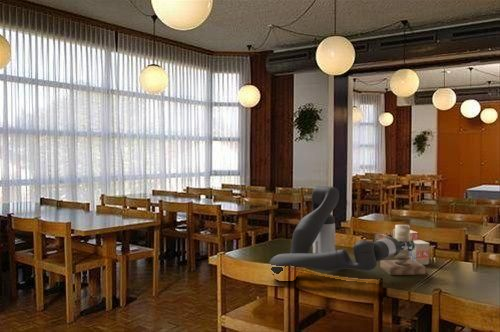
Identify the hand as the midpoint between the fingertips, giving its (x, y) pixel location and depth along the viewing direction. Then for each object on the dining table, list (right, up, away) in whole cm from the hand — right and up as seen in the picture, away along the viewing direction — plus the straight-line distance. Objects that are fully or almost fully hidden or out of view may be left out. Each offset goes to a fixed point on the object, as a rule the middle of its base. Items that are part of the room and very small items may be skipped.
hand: (405, 241), depth 192 cm
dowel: (-2, -9, -2) cm, 9 cm away
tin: (+1, -11, +35) cm, 36 cm away
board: (-2, -11, -1) cm, 12 cm away
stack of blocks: (+9, -11, +19) cm, 23 cm away
